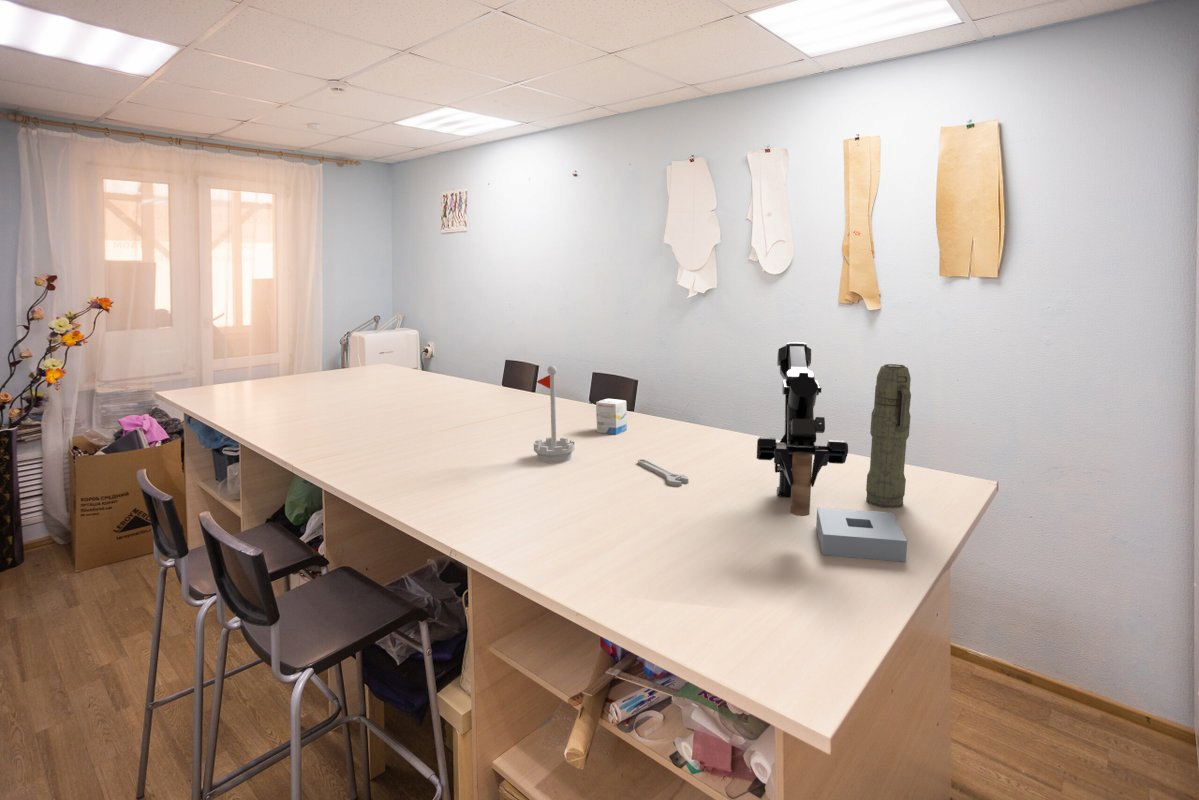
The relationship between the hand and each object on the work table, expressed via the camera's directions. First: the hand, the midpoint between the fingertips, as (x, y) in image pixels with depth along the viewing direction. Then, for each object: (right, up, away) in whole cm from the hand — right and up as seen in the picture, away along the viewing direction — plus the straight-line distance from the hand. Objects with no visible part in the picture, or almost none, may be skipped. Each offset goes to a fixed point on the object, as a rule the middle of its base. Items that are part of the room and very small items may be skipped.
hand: (801, 485), depth 137 cm
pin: (0, -6, +3) cm, 7 cm away
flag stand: (-57, -1, +71) cm, 92 cm away
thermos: (+30, -8, +28) cm, 41 cm away
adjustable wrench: (-24, -4, +54) cm, 60 cm away
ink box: (-38, +6, +106) cm, 113 cm away
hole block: (+13, -13, +3) cm, 19 cm away
